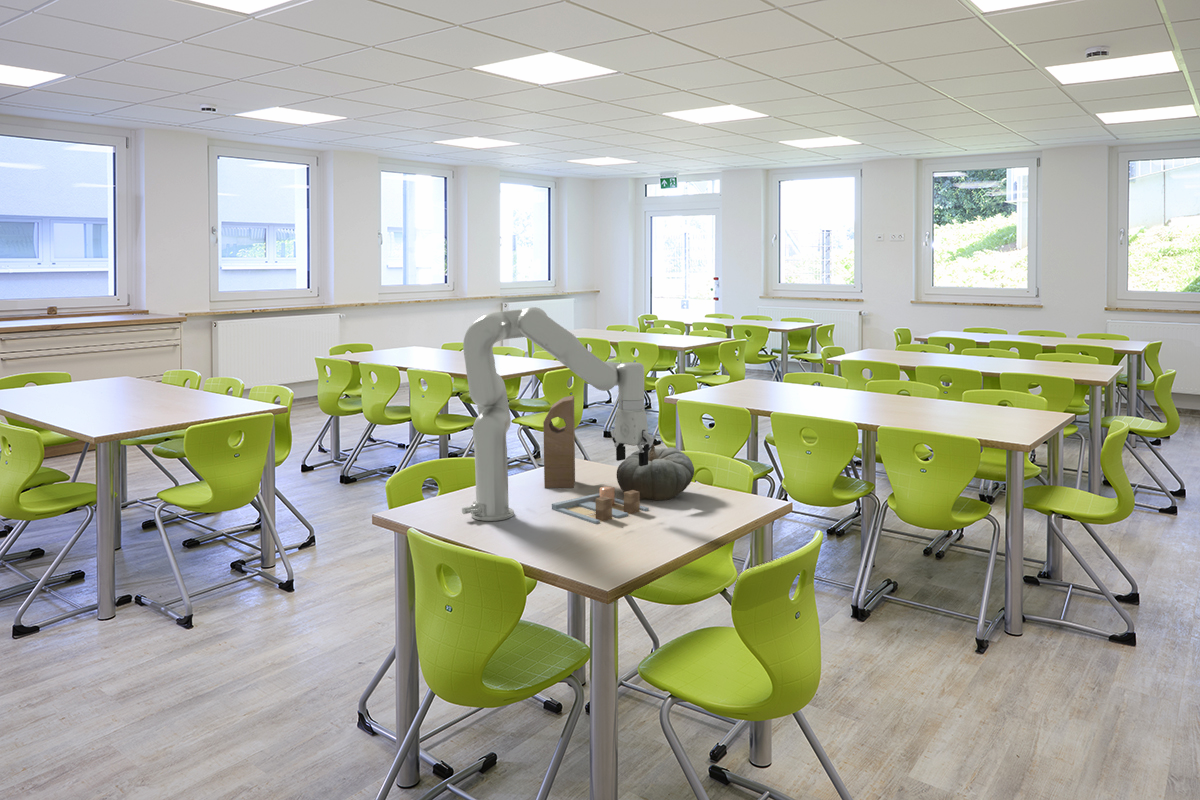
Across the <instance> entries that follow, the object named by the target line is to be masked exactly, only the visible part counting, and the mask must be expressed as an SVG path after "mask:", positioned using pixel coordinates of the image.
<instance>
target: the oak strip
mask: <svg viewBox="0 0 1200 800" xmlns="http://www.w3.org/2000/svg"><path fill="white" fill-rule="evenodd" d="M623 500H624V505H622V504H618V503H615V505H613V506H612V508H613V509H617V510H620V511H623V512H626V513H628V516H630V515H632V514H636V513H639V512H642V510H640V505H641V503H640V500H641V499H640V492H638V491H634V490H631V491H626V492H623ZM594 503H596V501H595V502H594Z"/></svg>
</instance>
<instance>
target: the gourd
mask: <svg viewBox="0 0 1200 800" xmlns="http://www.w3.org/2000/svg"><path fill="white" fill-rule="evenodd" d="M655 447H656V446H655V444H654V443H653V444H652V447H651V449H650V451H649V452H648V465H645V466H639V452H640V450H639V449H637V450H635V451H634V452H632V453H631V454H630V455H628V456H627V457H626V459H625V460H622V462H621V463H620V464H619V465H618V467H617V469H616V480H617V484H618V486H619V487H620V490H621V491H622V492H623V493H624V492H626V491H631V490H634V491H638V492H640V500H652V501H653V500H654V501H667V500H671V499H673V498H675V497H676V496H679V495H680V494H681V493H683V492H684V491H685V490H686V489H687V488H688V487H689V485H690V484H691V482H692V481H693V478H694V475H695V467H694V464H693V461H692V460H691V458H690V457H689V456H688V455H686V454H685V453H684V452H683V451H680V449H678V448H677V447H672V446H671V447H667V448H655Z"/></svg>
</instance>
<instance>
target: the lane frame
mask: <svg viewBox="0 0 1200 800" xmlns="http://www.w3.org/2000/svg"><path fill="white" fill-rule="evenodd" d="M596 498H600V492H597V493H592V494H589V495H585V496H581V497H580V496H579V497H575V498H572V499H567V500H562V501H559V502H555V503H551V510H552V511H554V512H558V513H562V514H565V515H567V516H570V517H573V518H577V519H579V520H582V521H586V522H588V523H591V524H595V525H596V524H600V523H601V522H600V520H598V519H594V518H591V517H588V516H589V515H593V514H596V503H594V502H596ZM615 503H617V504H620V505H623V506H624V499H620V498H617V497H615ZM649 509H650V508H649V507H647V506H643V505H641V504H640V511H641V512H646V511H649ZM628 516H629V515H628V513H626V512H623V511H620V510H617V509H613V508H612V518H613V519H620V518H624V517H628Z"/></svg>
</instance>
